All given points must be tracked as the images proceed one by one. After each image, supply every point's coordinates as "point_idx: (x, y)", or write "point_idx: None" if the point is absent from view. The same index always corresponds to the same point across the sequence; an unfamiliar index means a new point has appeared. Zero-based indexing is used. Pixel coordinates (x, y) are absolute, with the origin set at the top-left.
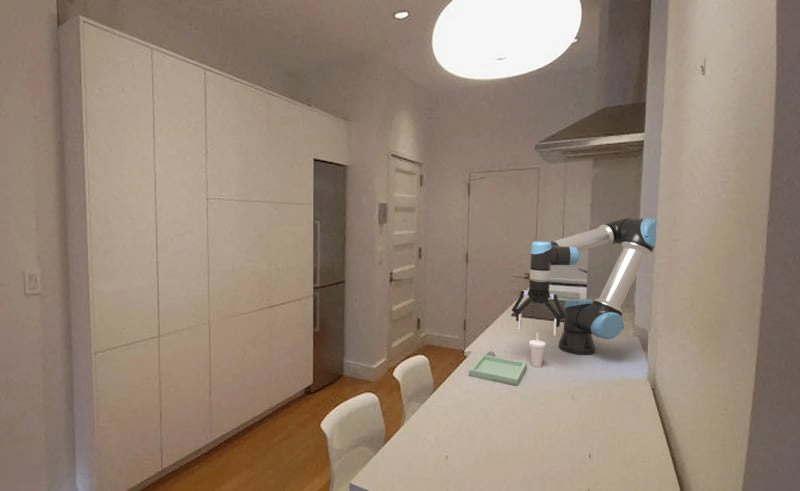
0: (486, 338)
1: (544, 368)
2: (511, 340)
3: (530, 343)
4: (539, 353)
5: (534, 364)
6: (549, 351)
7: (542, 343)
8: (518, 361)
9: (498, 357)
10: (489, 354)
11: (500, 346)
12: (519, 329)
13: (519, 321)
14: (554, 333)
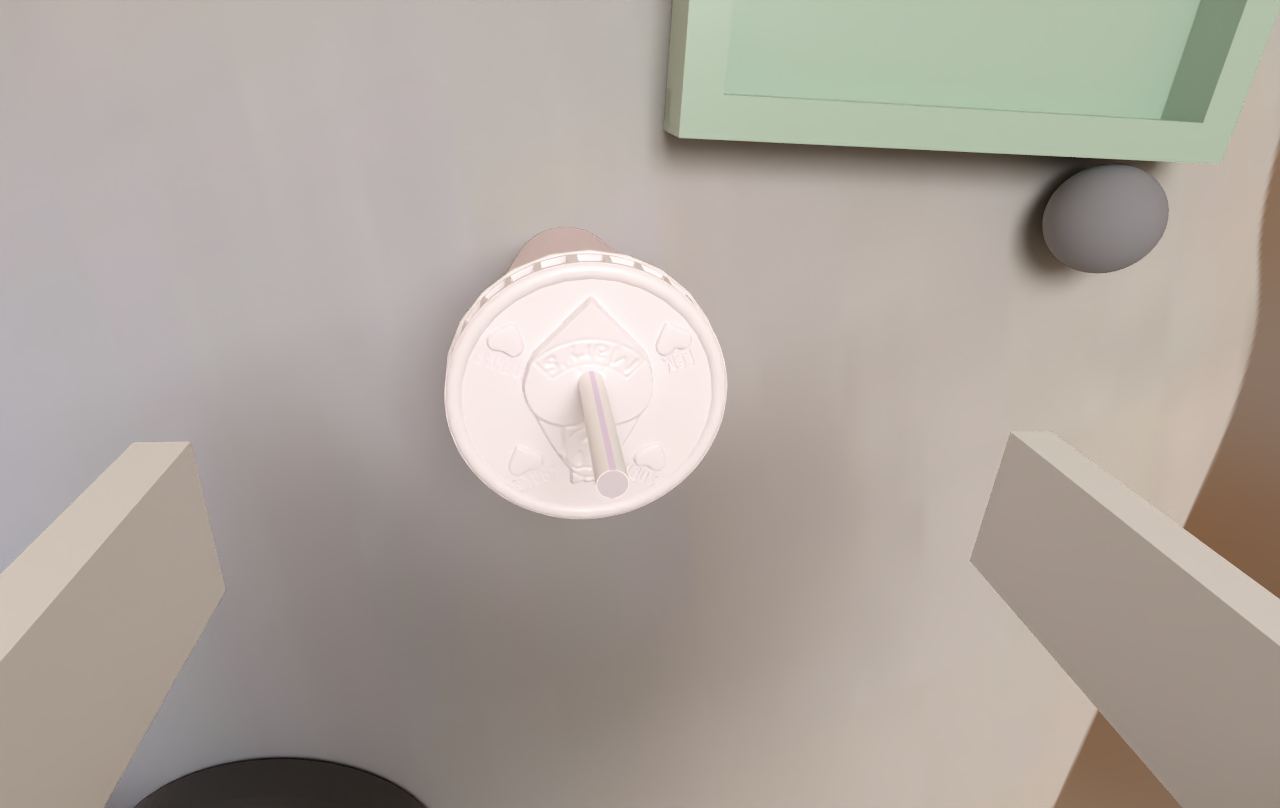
0: (1071, 715)
1: (464, 239)
2: (858, 774)
3: (699, 310)
4: (528, 261)
5: (584, 232)
6: (503, 708)
7: (500, 413)
8: (786, 120)
9: (1036, 147)
10: (1147, 178)
11: (955, 607)
12: (1030, 436)
13: (1202, 562)
14: (135, 468)
